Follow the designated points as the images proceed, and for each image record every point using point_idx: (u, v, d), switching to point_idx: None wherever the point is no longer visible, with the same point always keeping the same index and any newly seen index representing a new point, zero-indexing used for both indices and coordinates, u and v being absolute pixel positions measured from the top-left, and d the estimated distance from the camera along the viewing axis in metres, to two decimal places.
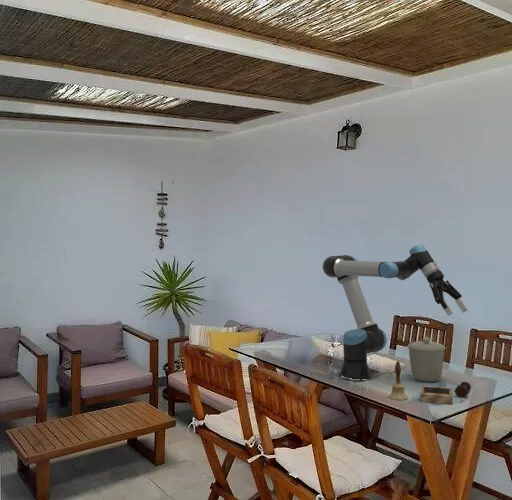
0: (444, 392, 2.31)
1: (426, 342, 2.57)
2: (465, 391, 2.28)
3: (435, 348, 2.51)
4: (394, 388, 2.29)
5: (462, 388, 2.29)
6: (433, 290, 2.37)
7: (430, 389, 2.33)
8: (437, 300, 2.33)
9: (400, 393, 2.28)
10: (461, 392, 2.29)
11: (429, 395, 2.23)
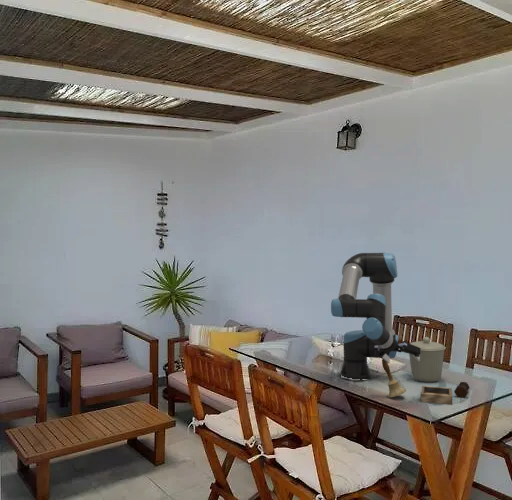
0: (444, 392, 2.31)
1: (426, 342, 2.57)
2: (465, 391, 2.28)
3: (435, 348, 2.51)
4: (390, 386, 2.30)
5: (462, 388, 2.29)
6: None
7: (430, 389, 2.33)
8: None
9: (397, 389, 2.28)
10: (461, 392, 2.29)
11: (429, 395, 2.23)
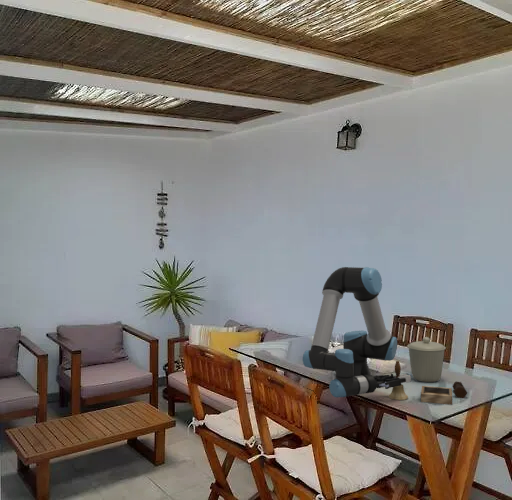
0: (444, 392, 2.31)
1: (426, 342, 2.57)
2: (464, 391, 2.28)
3: (435, 348, 2.51)
4: (396, 388, 2.28)
5: (461, 388, 2.28)
6: None
7: (430, 389, 2.33)
8: None
9: (402, 393, 2.28)
10: (460, 392, 2.28)
11: (429, 395, 2.23)
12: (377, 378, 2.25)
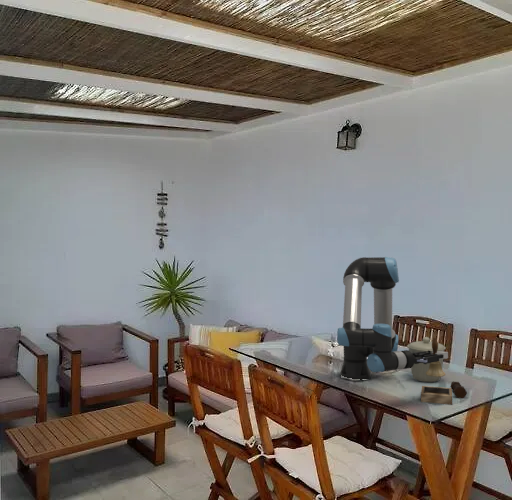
0: (444, 392, 2.31)
1: (426, 342, 2.57)
2: (464, 391, 2.28)
3: None
4: (433, 365, 2.25)
5: (461, 388, 2.28)
6: None
7: (430, 389, 2.33)
8: None
9: (440, 370, 2.25)
10: (460, 393, 2.28)
11: (429, 395, 2.23)
12: (415, 354, 2.22)
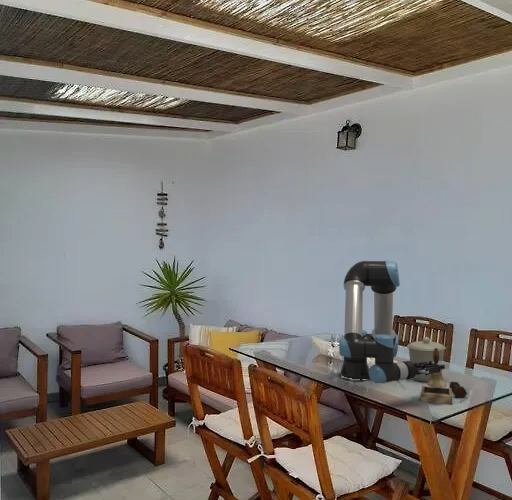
0: (444, 392, 2.31)
1: (426, 342, 2.57)
2: (464, 391, 2.28)
3: None
4: (435, 375, 2.25)
5: (461, 389, 2.28)
6: None
7: (430, 389, 2.33)
8: None
9: (441, 380, 2.25)
10: (460, 393, 2.28)
11: (429, 395, 2.23)
12: (416, 364, 2.22)
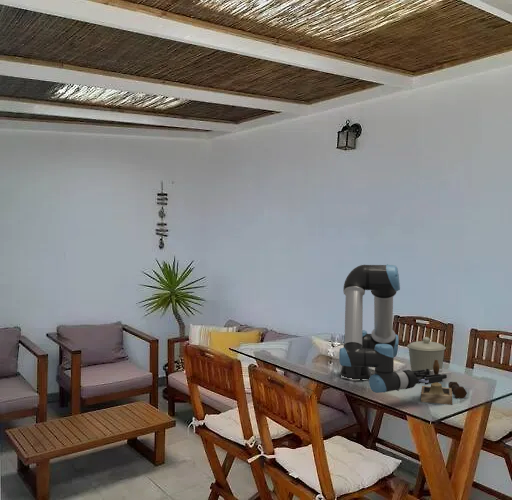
0: (444, 392, 2.31)
1: (426, 342, 2.57)
2: (464, 391, 2.28)
3: (435, 348, 2.51)
4: (434, 387, 2.26)
5: (461, 389, 2.28)
6: None
7: None
8: None
9: (441, 392, 2.25)
10: (460, 393, 2.28)
11: (429, 395, 2.23)
12: (416, 373, 2.22)
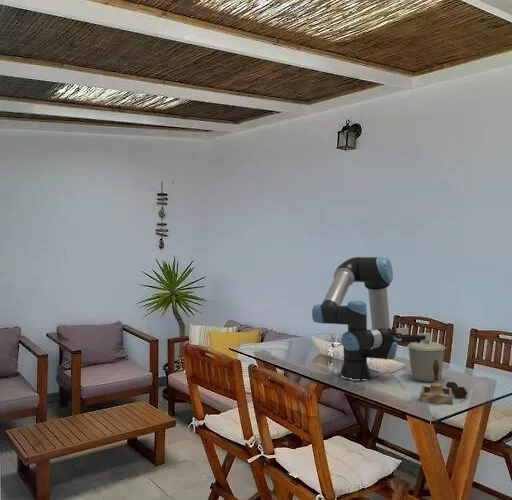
0: (444, 392, 2.31)
1: (426, 342, 2.57)
2: (465, 392, 2.28)
3: (435, 348, 2.51)
4: (434, 387, 2.26)
5: (462, 389, 2.28)
6: None
7: None
8: (388, 330, 2.29)
9: (441, 392, 2.25)
10: (461, 393, 2.28)
11: (429, 395, 2.23)
12: (392, 332, 2.16)
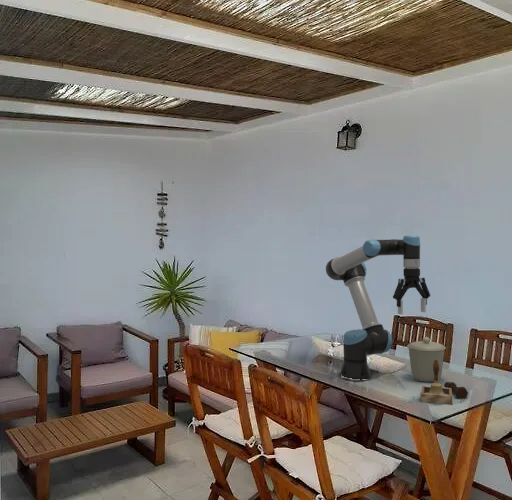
0: (444, 392, 2.31)
1: (426, 342, 2.57)
2: (465, 392, 2.27)
3: (435, 348, 2.51)
4: (434, 387, 2.26)
5: (463, 389, 2.27)
6: (398, 286, 2.44)
7: None
8: (394, 297, 2.42)
9: (441, 392, 2.25)
10: (462, 393, 2.27)
11: (429, 395, 2.23)
12: None
